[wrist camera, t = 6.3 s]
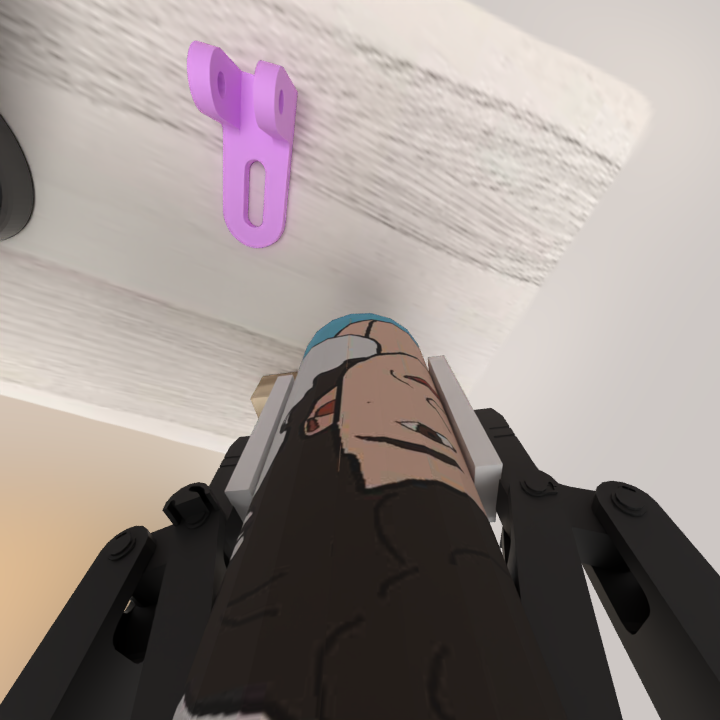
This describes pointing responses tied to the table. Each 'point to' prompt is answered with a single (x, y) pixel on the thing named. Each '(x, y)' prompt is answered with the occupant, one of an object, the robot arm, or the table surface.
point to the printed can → (367, 561)
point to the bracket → (248, 134)
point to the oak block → (265, 391)
